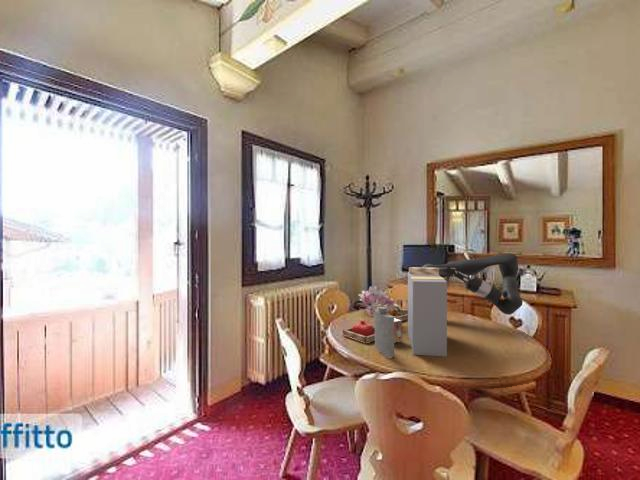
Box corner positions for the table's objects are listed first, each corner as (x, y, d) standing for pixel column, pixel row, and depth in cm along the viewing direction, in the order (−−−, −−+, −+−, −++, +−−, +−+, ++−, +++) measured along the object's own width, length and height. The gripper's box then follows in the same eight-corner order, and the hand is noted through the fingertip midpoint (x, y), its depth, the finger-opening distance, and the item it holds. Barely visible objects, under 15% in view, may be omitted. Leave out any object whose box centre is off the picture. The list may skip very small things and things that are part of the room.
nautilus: (408, 321, 201) (383, 323, 199) (395, 310, 222) (373, 312, 220) (407, 308, 200) (383, 310, 198) (395, 298, 221) (373, 300, 219)
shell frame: (363, 314, 215) (363, 309, 215) (383, 309, 228) (383, 305, 228) (397, 323, 195) (397, 317, 195) (417, 316, 208) (417, 312, 208)
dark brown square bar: (455, 274, 166) (455, 267, 165) (456, 274, 163) (456, 268, 162) (408, 273, 170) (408, 267, 170) (409, 274, 167) (409, 268, 167)
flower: (412, 326, 183) (400, 282, 193) (382, 329, 170) (371, 282, 180) (387, 334, 198) (376, 293, 207) (358, 337, 185) (348, 293, 195)
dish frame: (341, 335, 173) (341, 329, 173) (363, 329, 184) (363, 323, 184) (366, 344, 160) (366, 338, 160) (388, 336, 171) (388, 331, 170)
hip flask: (395, 358, 143) (395, 311, 142) (386, 359, 142) (386, 311, 141) (380, 345, 158) (379, 303, 158) (372, 346, 157) (371, 303, 157)
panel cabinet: (435, 333, 175) (435, 271, 174) (446, 356, 144) (447, 281, 143) (407, 332, 178) (407, 271, 177) (413, 354, 147) (412, 280, 146)
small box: (389, 344, 159) (389, 322, 159) (381, 341, 164) (381, 319, 164) (402, 341, 163) (402, 320, 163) (394, 338, 168) (394, 317, 168)
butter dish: (346, 336, 173) (346, 320, 172) (361, 331, 180) (361, 316, 180) (364, 342, 164) (364, 324, 164) (378, 336, 172) (378, 320, 172)
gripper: (478, 277, 169) (447, 260, 171) (487, 282, 155) (452, 263, 157) (470, 290, 170) (439, 272, 172) (478, 295, 156) (444, 276, 158)
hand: (446, 268), depth 165 cm, fingers closed on dark brown square bar, 3 cm apart
